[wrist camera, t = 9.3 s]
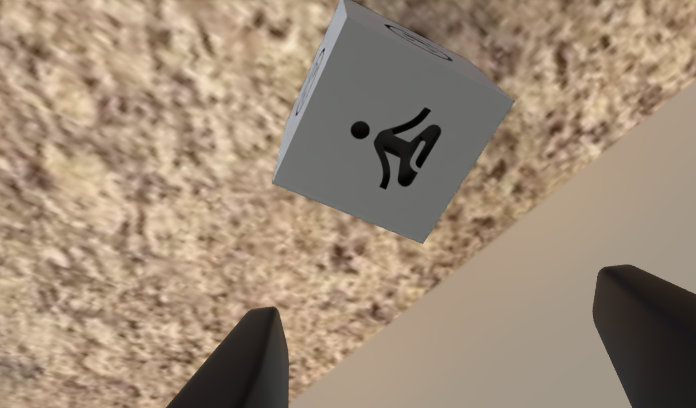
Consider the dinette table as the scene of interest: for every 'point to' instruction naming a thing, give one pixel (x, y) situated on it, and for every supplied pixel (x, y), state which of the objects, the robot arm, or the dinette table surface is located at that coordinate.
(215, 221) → the dinette table surface
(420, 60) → the dice cube
